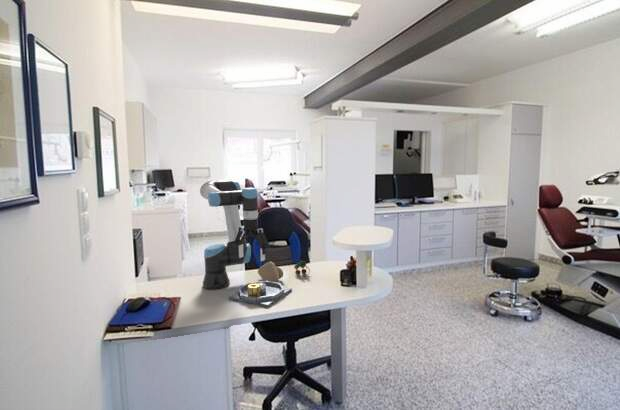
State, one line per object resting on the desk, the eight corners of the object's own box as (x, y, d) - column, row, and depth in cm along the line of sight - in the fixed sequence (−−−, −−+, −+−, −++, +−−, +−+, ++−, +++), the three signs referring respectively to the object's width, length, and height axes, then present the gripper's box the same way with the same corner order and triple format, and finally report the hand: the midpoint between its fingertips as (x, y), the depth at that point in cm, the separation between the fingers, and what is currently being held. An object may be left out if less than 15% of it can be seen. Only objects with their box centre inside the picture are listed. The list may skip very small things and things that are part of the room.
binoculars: (308, 277, 213) (305, 262, 217) (313, 273, 205) (309, 257, 209) (294, 279, 209) (291, 264, 213) (299, 275, 202) (295, 259, 206)
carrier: (229, 299, 174) (228, 287, 173) (256, 284, 196) (255, 273, 195) (267, 307, 164) (267, 295, 163) (291, 290, 185) (291, 279, 184)
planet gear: (252, 293, 178) (252, 283, 177) (262, 295, 175) (261, 284, 174) (245, 298, 172) (245, 286, 172) (255, 299, 170) (255, 288, 169)
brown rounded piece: (272, 288, 206) (287, 278, 198) (262, 290, 200) (277, 279, 192) (265, 268, 212) (279, 257, 204) (255, 269, 206) (270, 258, 198)
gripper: (226, 217, 172) (228, 257, 175) (267, 221, 161) (268, 264, 164) (235, 215, 179) (237, 253, 182) (275, 218, 168) (276, 259, 171)
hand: (251, 258), depth 173 cm, fingers open, 13 cm apart
